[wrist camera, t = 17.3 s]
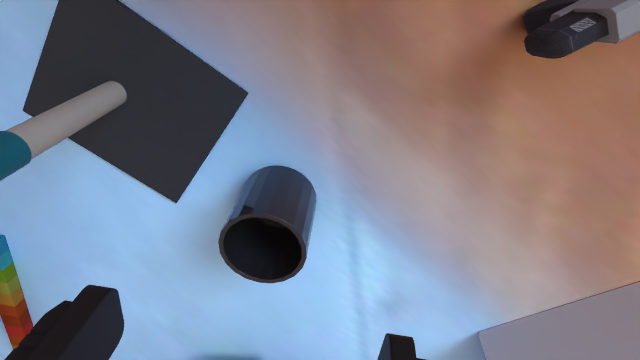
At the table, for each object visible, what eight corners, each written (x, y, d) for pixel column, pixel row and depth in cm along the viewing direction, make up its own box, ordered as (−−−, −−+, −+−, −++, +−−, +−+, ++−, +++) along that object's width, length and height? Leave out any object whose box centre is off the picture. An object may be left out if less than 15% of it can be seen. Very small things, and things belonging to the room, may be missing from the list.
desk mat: (25, 109, 45) (22, 110, 45) (72, -33, 37) (69, -33, 37) (177, 201, 50) (176, 203, 49) (248, 92, 42) (247, 94, 41)
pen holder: (231, 202, 49) (203, 254, 40) (269, 151, 45) (247, 197, 36) (289, 238, 51) (275, 295, 42) (330, 193, 47) (324, 246, 38)
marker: (97, 95, 43) (-65, 179, 27) (107, 73, 42) (-58, 148, 25) (122, 111, 44) (-21, 202, 27) (132, 90, 42) (-12, 173, 26)
